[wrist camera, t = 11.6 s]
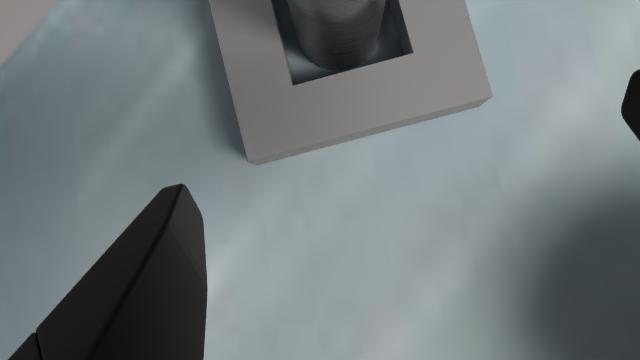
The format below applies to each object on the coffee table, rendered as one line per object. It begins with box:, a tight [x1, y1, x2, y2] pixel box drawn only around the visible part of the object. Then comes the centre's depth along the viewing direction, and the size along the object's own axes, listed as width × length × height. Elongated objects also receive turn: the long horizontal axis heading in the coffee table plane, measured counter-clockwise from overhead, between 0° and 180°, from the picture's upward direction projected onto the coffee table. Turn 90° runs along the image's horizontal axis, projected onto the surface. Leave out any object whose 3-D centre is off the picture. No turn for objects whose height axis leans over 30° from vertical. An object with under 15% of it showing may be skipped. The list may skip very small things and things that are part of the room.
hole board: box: [208, 0, 493, 165], centre depth 21 cm, size 12×12×2 cm
